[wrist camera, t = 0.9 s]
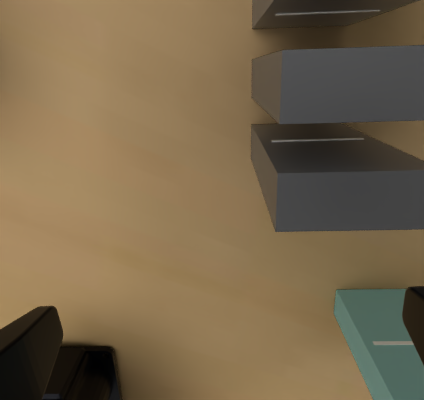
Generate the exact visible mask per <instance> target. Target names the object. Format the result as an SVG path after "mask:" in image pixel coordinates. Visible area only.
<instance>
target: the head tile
mask: <svg viewBox="0 0 424 400" xmlns="http://www.w3.org/2000/svg"><path fill="white" fill-rule="evenodd" d="M405 291H406V289H350V290H336V297H335V305H334V315H335V317H336V320H337V322H338V324H339V326H340V328H341V330H342V333H343V335H344V337H345V339H346V341H347V343H348V346H349V348H350V350H351V352H352V354H353V356H354V359H355V361H356V363H357V365H358V367H359V370H360V372H361V374H362V376H363V378H364V380H365V383H366V385H367V387H368V389H369V391H370V393H371V396H372V398H373V400H424V365H423V363H422V361H421V359H420V357H419V355H418V353H417V351H416V348H415V346H414V344H413V342H412V340H411V338H410V336H409V334H408V331H407V329H406V327H405V325H404V323H403V319H402V311H403V304H404V296H405Z"/></svg>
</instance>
